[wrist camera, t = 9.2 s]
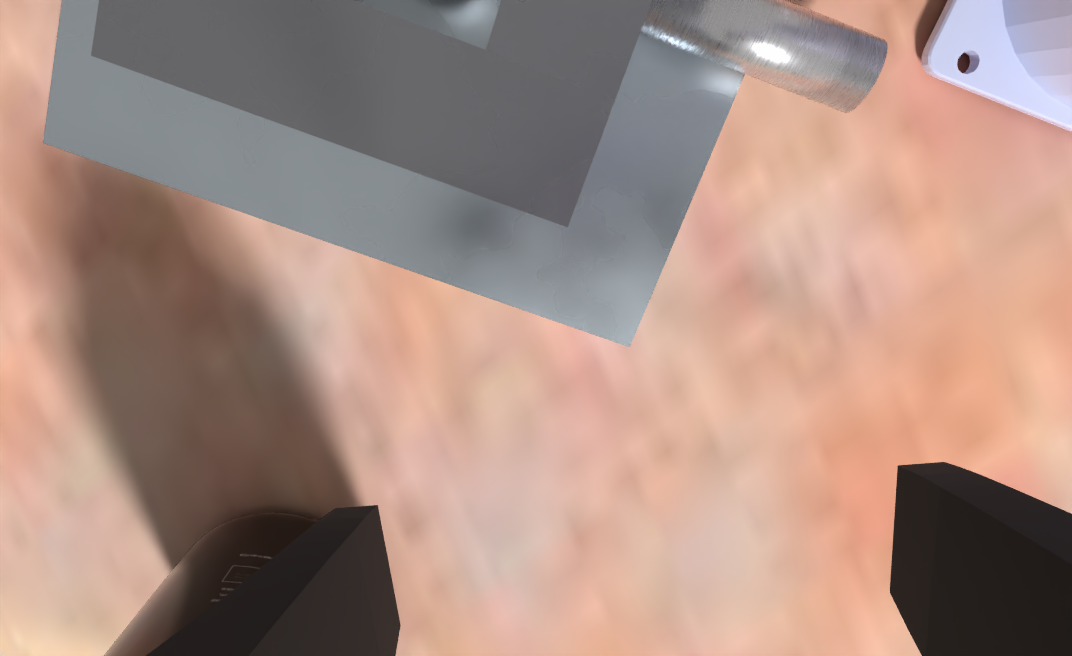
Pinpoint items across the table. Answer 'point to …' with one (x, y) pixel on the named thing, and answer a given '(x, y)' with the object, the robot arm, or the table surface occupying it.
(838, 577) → the table surface
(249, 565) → the supplement bottle
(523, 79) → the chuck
